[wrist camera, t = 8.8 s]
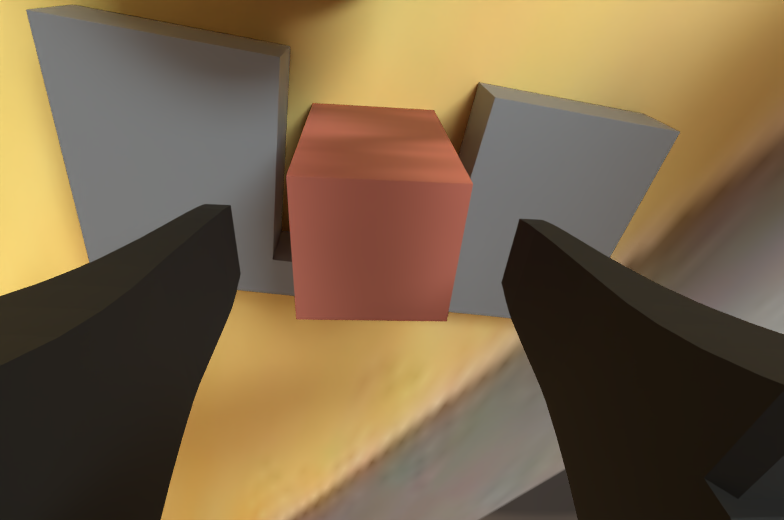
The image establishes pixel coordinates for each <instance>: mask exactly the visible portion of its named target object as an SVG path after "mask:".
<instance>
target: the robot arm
mask: <svg viewBox="0 0 784 520" xmlns="http://www.w3.org/2000/svg"><path fill="white" fill-rule="evenodd" d="M240 275H241V272H240V266H239V259H238V252H237V245H236V238H235V231H234V224H233V217H232V210H231V205H217V204H203V205H201V206H198V207H196V208H194V209H192V210H190V211H188V212H186V213H184V214H183V215H181V216H179V217H177V218H175V219H174V220H172V221H170V222H168V223H166V224H165V225H163V226H161V227H159V228H157V229H156V230H154V231H152V232H150V233H148V234H146V235H145V236H143V237H141V238H139V239H137V240H135V241H133V242H131V243H129V244H127V245H125V246H123V247H121V248H119V249H117V250H115V251H113V252H111V253H109V254H107V255H105V256H103V257H101V258H99V259H97V260H95V261H92V262H90V263H88V264H86V265H83V266H81V267H79V268H76V269H74V270H71V271H69V272H66V273H64V274H61V275H59V276H56V277H54V278H51V279H49V280H46V281H44V282H41V283H38V284H35V285H32V286H29V287H26V288H23V289H20V290H17V291H14V292H11V293H8V294H5V295H2V296H0V520H161V516H162V512H163V508H164V504H165V500H166V496H167V492H168V488H169V484H170V480H171V476H172V473H173V469H174V466H175V462H176V458H177V455H178V451H179V448H180V444H181V440H182V437H183V434H184V430H185V427H186V424H187V420H188V417H189V414H190V410H191V407H192V404H193V401H194V398H195V395H196V392H197V390H198V387H199V384H200V382H201V379H202V377H203V375H204V372H205V370H206V368H207V365H208V363H209V361H210V359H211V356H212V354H213V352H214V349H215V347H216V345H217V342H218V340H219V338H220V335H221V333H222V331H223V328H224V326H225V323H226V321H227V319H228V316H229V314H230V311H231V309H232V306H233V303H234V299H235V295H236V292H237V287H238V283H239V279H240ZM501 283H502V287H503V291H504V296H505V300H506V304H507V307H508V311H509V314H510V317H511V319H512V322H513V324H514V327H515V329H516V331H517V334H518V336H519V338H520V341H521V343H522V345H523V348H524V350H525V352H526V355H527V357H528V359H529V362H530V364H531V366H532V368H533V371H534V373H535V375H536V378H537V380H538V382H539V385H540V387H541V390H542V392H543V395H544V398H545V400H546V403H547V407H548V410H549V413H550V416H551V420H552V423H553V426H554V430H555V433H556V436H557V440H558V443H559V447H560V451H561V454H562V458H563V462H564V465H565V469H566V472H567V476H568V480H569V484H570V488H571V493H572V497H573V500H574V505H575V509H576V513H577V518H578V520H784V334H781V333H778V332H775V331H772V330H769V329H766V328H763V327H760V326H757V325H754V324H752V323H749V322H746V321H744V320H741V319H739V318H736V317H733V316H731V315H728V314H725V313H723V312H720V311H717V310H715V309H712V308H710V307H708V306H705V305H703V304H700V303H698V302H696V301H694V300H691V299H689V298H687V297H685V296H683V295H680V294H678V293H676V292H674V291H672V290H669V289H667V288H665V287H663V286H661V285H659V284H657V283H655V282H653V281H651V280H649V279H647V278H645V277H643V276H642V275H640V274H638V273H636V272H634V271H632V270H630V269H629V268H627V267H625V266H623V265H621V264H620V263H618V262H616V261H614V260H613V259H611V258H609V257H607V256H606V255H604V254H602V253H601V252H599V251H597V250H596V249H594V248H592V247H591V246H589V245H587V244H586V243H584V242H582V241H581V240H579V239H577V238H576V237H574V236H572V235H571V234H569V233H567V232H566V231H564V230H562V229H560V228H559V227H557V226H555V225H553V224H551V223H549V222H547V221H544V220H537V219H519V222H518V226H517V229H516V233H515V236H514V240H513V243H512V247H511V250H510V254H509V257H508V261H507V264H506V268H505V271H504V275H503V279H502V282H501Z"/></svg>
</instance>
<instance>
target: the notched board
mask: <svg viewBox="0 0 784 520" xmlns="http://www.w3.org/2000/svg"><path fill="white" fill-rule="evenodd" d="M26 11H27V15H28V19H29V23H30V27H31V31H32V35H33V39H34V43H35V47H36V51H37V55H38V59H39V63H40V67H41V71H42V75H43V79H44V83H45V87H46V91H47V95H48V99H49V103H50V107H51V111H52V115H53V119H54V123H55V127H56V131H57V135H58V139H59V143H60V147H61V151H62V155H63V159H64V163H65V167H66V171H67V175H68V179H69V183H70V187H71V191H72V195H73V199H74V202H75V206H76V210H77V214H78V218H79V222H80V226H81V230H82V234H83V238H84V242H85V246H86V250H87V254H88V258H89V262H92V261H95V260H97V259H99V258H101V257H103V256H105V255H107V254H109V253H111V252H113V251H115V250H117V249H119V248H121V247H123V246H125V245H127V244H129V243H131V242H133V241H135V240H137V239H139V238H141V237H143V236H145V235H146V234H148V233H150V232H152V231H154V230H156V229H157V228H159V227H161V226H163V225H165V224H166V223H168V222H170V221H172V220H174V219H175V218H177V217H179V216H181V215H183V214H184V213H186V212H188V211H190V210H192V209H194V208H196V207H198V206H201V205H203V204H217V205H231V210H232V217H233V224H234V231H235V238H236V245H237V252H238V259H239V266H240V272H241V275H240V279H239V283H238V287H237V290H243V291H252V292H262V293H272V294H282V295H291V296H295V294H294V280H293V266H292V252H291V238H290V232H287V231H282V211H283V190H284V169H285V149H286V128H287V107H288V86H289V65H290V46H286V45H281V44H276V43H271V42H265V41H260V40H255V39H250V38H245V37H239V36H234V35H229V34H224V33H218V32H213V31H208V30H203V29H197V28H192V27H187V26H182V25H177V24H171V23H166V22H161V21H156V20H150V19H145V18H140V17H135V16H130V15H124V14H119V13H114V12H109V11H103V10H98V9H93V8H88V7H83V6H77V5H65V6H55V7H46V8H37V9H28V10H26ZM679 133H680V132H679V131H677V130H675V129H673V128H671V127H669V126H667V125H665V124H663V123H661V122H659V121H657V120H655V119H653V118H651V117H649V116H647V115H645V114H642V113H636V112H631V111H626V110H621V109H615V108H610V107H605V106H600V105H595V104H589V103H584V102H579V101H574V100H568V99H563V98H558V97H553V96H548V95H542V94H537V93H532V92H527V91H521V90H516V89H511V88H506V87H501V86H495V85H490V84H485V83H480V82H479V84H478V88H477V91H476V95H475V99H474V102H473V106H472V109H471V113H470V116H469V120H468V123H467V127H466V131H465V134H464V138H463V141H462V145H461V148H460V152H459V155H458V156H459V158H460V160H461V162H462V164H463V166H464V168H465V170H466V171H467V173H468V175H469V177H470V179H471V181H472V183H473V187H472V193H471V198H470V203H469V208H468V213H467V218H466V224H465V229H464V234H463V239H462V244H461V250H460V255H459V260H458V265H457V270H456V275H455V281H454V286H453V291H452V296H451V301H450V307H449V312H456V313H465V314H475V315H485V316H495V317H504V318H511V317H510V314H509V311H508V307H507V304H506V300H505V296H504V291H503V287H502V283H501V282H502V279H503V275H504V271H505V268H506V264H507V261H508V257H509V254H510V250H511V247H512V243H513V240H514V236H515V233H516V229H517V226H518V222H519V219H537V220H544V221H547V222H549V223H551V224H553V225H555V226H557V227H559V228H560V229H562V230H564V231H566V232H567V233H569V234H571V235H572V236H574V237H576V238H577V239H579V240H581V241H582V242H584V243H586V244H587V245H589V246H591V247H592V248H594V249H596V250H597V251H599V252H601V253H602V254H604V255H606V256H607V257H609V258H610V256H611V254H612V253H613V251H614V249H615V247H616V245H617V244H618V242H619V240H620V238H621V237H622V235H623V233H624V231H625V229H626V228H627V226H628V224H629V222H630V221H631V219H632V217H633V215H634V213H635V212H636V210H637V208H638V206H639V204H640V203H641V201H642V199H643V197H644V196H645V194H646V192H647V190H648V188H649V187H650V185H651V183H652V181H653V180H654V178H655V176H656V174H657V172H658V171H659V169H660V167H661V165H662V163H663V162H664V160H665V158H666V156H667V155H668V153H669V151H670V149H671V147H672V146H673V144H674V142H675V140H676V138H677V137H678V135H679Z"/></svg>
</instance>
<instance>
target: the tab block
mask: <svg viewBox="0 0 784 520" xmlns="http://www.w3.org/2000/svg"><path fill="white" fill-rule="evenodd" d="M286 182H287V196H288V210H289V224H290V238H291V252H292V266H293V280H294V294H295V308H296V319H311V320H387V321H447V317H448V312H449V307H450V301H451V296H452V291H453V286H454V281H455V275H456V270H457V265H458V260H459V255H460V250H461V244H462V239H463V234H464V229H465V224H466V218H467V213H468V208H469V203H470V198H471V193H472V187H473V183H472V181H471V179H470V177H469V175H468V173H467V171H466V170H465V168H464V166H463V164H462V162H461V160H460V158H459V156H458V155H457V153H456V151H455V149H454V147H453V145H452V143H451V141H450V139H449V138H448V136H447V134H446V132H445V130H444V128H443V126H442V124H441V123H440V121H439V119H438V117H437V115H436V113H435V111H434V110H421V109H404V108H387V107H370V106H353V105H336V104H319V103H313V104H312V107H311V110H310V112H309V115H308V118H307V121H306V123H305V126H304V129H303V131H302V134H301V137H300V139H299V142H298V145H297V148H296V150H295V153H294V156H293V158H292V161H291V164H290V167H289V169H288V172H287V175H286Z"/></svg>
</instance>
